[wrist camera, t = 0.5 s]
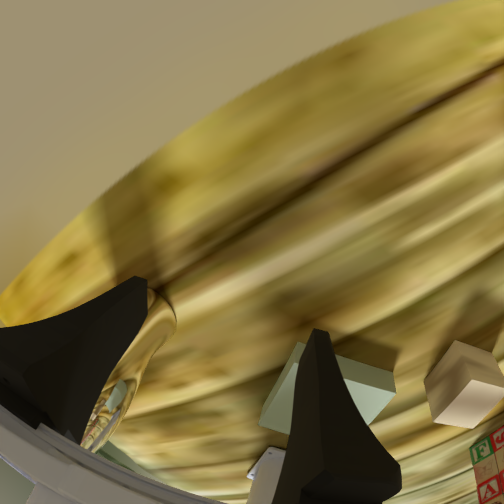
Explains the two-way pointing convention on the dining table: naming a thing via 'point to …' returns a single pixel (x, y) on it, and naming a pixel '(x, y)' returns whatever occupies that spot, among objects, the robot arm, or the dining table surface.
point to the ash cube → (464, 386)
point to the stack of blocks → (489, 468)
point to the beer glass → (129, 373)
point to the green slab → (355, 376)
